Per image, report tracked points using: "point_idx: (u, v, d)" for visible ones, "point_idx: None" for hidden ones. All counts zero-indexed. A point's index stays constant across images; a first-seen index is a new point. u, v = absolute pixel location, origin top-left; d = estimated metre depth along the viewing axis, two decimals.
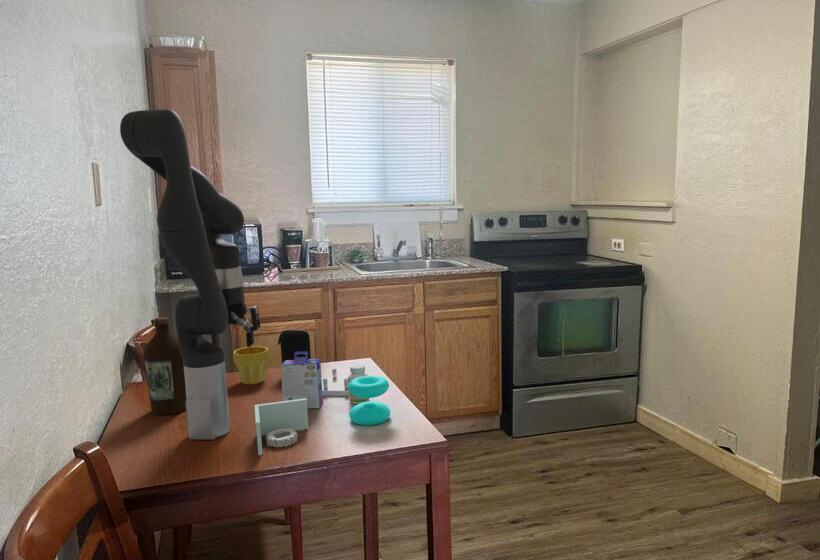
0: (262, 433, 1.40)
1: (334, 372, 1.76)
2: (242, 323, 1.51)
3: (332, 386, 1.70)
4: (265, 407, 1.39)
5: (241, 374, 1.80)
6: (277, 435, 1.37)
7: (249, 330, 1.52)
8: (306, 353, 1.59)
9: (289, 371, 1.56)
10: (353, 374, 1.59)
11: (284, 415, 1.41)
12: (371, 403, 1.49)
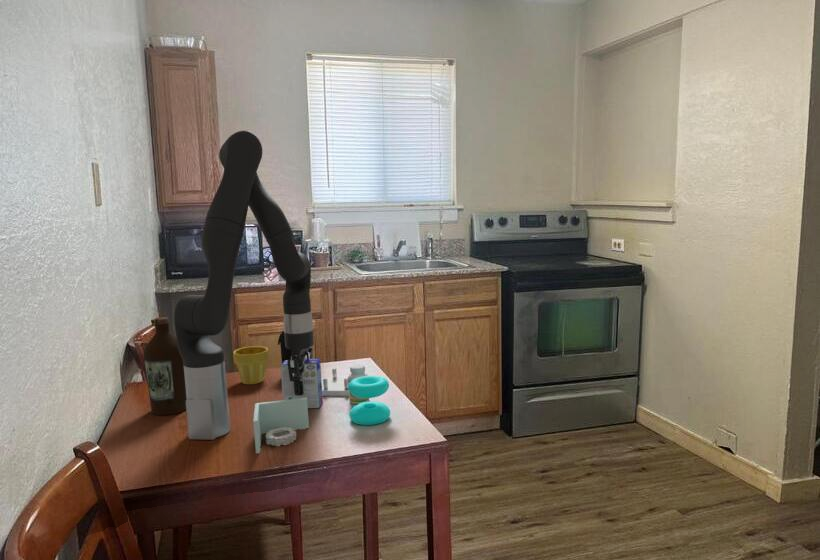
0: (263, 431, 1.41)
1: (334, 372, 1.76)
2: None
3: (332, 386, 1.70)
4: (265, 405, 1.40)
5: (241, 374, 1.80)
6: (277, 434, 1.38)
7: None
8: None
9: None
10: (353, 374, 1.59)
11: (284, 414, 1.42)
12: (371, 403, 1.49)
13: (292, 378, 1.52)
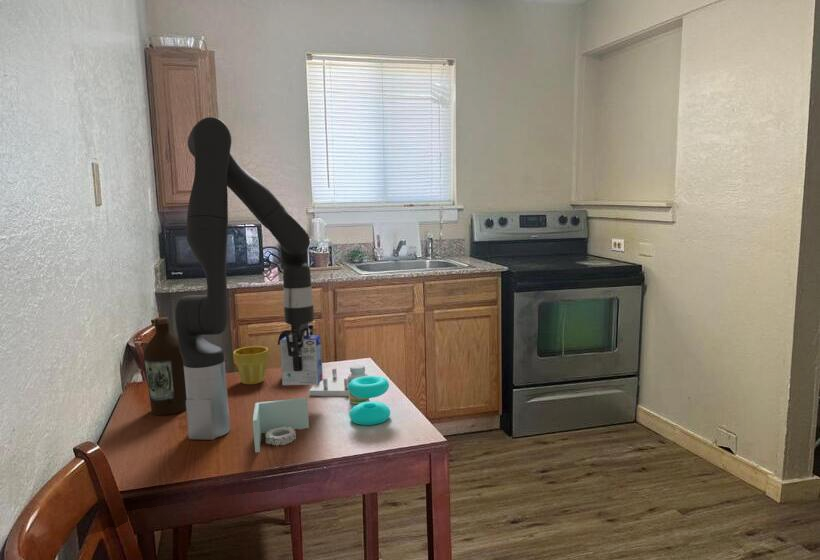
0: (263, 431, 1.41)
1: (334, 372, 1.76)
2: None
3: (332, 386, 1.70)
4: (266, 405, 1.41)
5: (241, 374, 1.80)
6: (276, 433, 1.39)
7: None
8: None
9: None
10: (353, 374, 1.59)
11: (284, 414, 1.42)
12: (371, 403, 1.49)
13: (291, 353, 1.51)
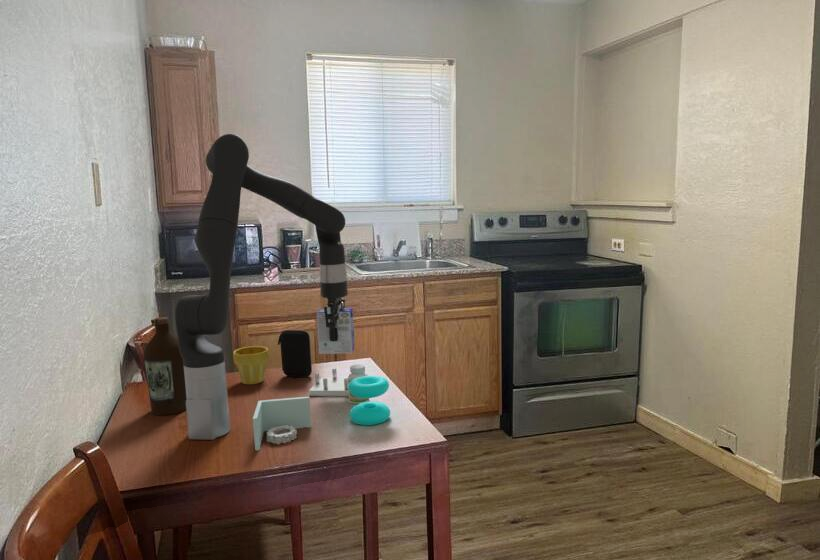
0: (265, 429, 1.43)
1: (334, 372, 1.76)
2: None
3: (332, 386, 1.70)
4: (268, 403, 1.42)
5: (241, 374, 1.80)
6: (278, 431, 1.40)
7: None
8: None
9: (324, 318, 1.67)
10: (353, 374, 1.59)
11: (287, 412, 1.43)
12: (371, 403, 1.49)
13: (328, 324, 1.64)
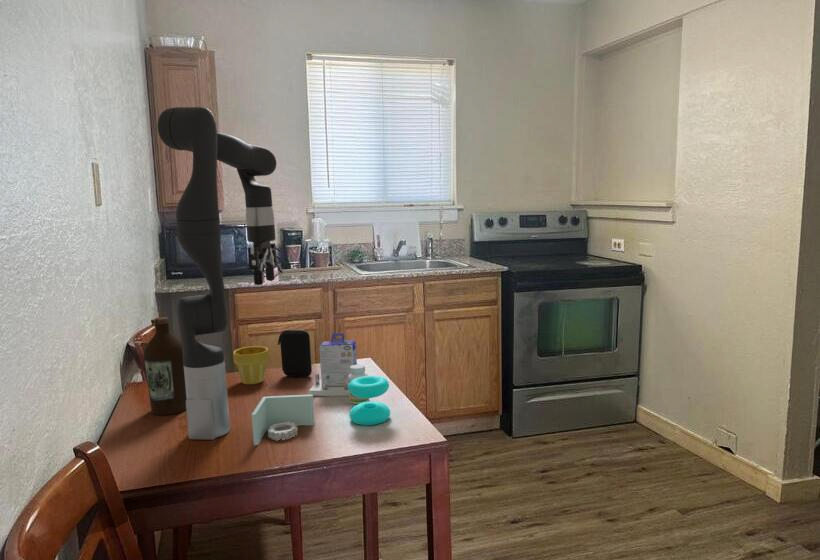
0: (269, 424, 1.45)
1: None
2: (273, 257, 1.68)
3: (332, 386, 1.70)
4: (272, 399, 1.44)
5: (241, 374, 1.80)
6: (280, 428, 1.42)
7: (274, 264, 1.70)
8: (342, 335, 1.71)
9: (327, 351, 1.69)
10: (353, 374, 1.59)
11: (290, 409, 1.45)
12: (371, 403, 1.49)
13: (251, 266, 1.58)
